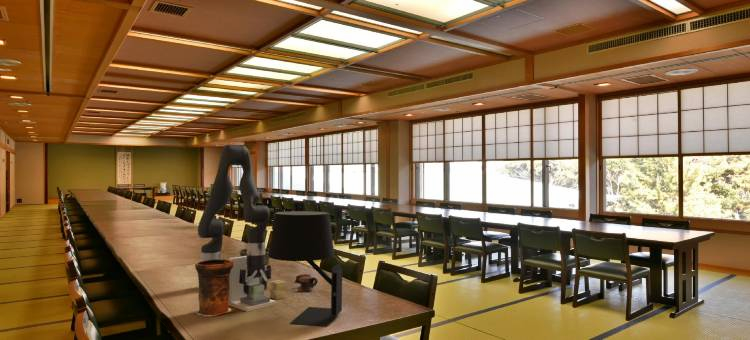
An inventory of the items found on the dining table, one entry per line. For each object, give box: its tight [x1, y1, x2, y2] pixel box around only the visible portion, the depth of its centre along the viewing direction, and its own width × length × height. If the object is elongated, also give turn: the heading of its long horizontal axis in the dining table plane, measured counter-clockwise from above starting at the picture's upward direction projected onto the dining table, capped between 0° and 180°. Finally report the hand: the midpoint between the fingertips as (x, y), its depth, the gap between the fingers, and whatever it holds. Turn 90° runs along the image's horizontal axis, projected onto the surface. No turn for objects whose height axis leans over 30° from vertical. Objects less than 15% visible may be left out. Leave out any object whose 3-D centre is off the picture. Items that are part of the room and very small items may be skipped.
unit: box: [228, 256, 277, 313], centre depth 189 cm, size 14×14×20 cm
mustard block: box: [269, 279, 287, 300], centre depth 201 cm, size 5×5×7 cm
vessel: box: [194, 258, 233, 317], centre depth 178 cm, size 14×14×20 cm
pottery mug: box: [294, 273, 319, 292], centre depth 217 cm, size 12×10×8 cm
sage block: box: [247, 283, 265, 300], centre depth 187 cm, size 5×5×7 cm
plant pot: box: [239, 247, 271, 284], centre depth 231 cm, size 16×16×16 cm
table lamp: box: [268, 210, 343, 328], centre depth 175 cm, size 26×28×40 cm
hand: (255, 291), depth 187 cm, fingers open, 8 cm apart
